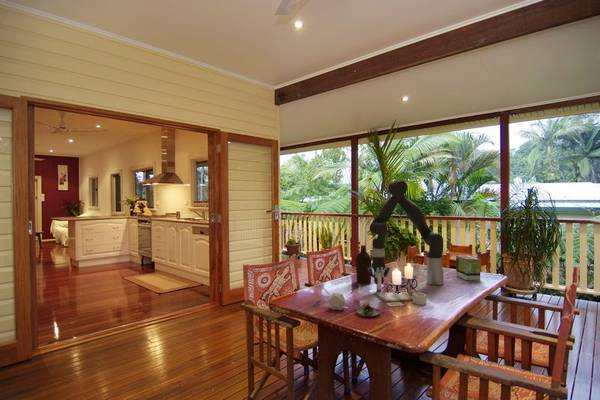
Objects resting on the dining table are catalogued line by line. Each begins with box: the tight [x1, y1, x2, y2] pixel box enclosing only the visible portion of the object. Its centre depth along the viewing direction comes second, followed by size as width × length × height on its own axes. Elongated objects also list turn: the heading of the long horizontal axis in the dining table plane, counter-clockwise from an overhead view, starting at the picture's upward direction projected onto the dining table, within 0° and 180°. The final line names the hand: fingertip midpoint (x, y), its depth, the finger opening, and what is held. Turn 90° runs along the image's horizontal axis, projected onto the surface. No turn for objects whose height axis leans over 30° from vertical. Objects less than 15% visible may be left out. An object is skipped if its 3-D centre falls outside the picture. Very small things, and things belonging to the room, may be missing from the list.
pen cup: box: [412, 292, 427, 306], centre depth 176 cm, size 6×6×4 cm
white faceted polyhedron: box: [328, 292, 347, 311], centre depth 169 cm, size 8×9×10 cm
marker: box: [375, 269, 383, 293], centre depth 198 cm, size 3×3×14 cm
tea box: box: [455, 254, 481, 281], centre depth 226 cm, size 15×10×15 cm, turn 179°
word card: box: [385, 302, 405, 307], centre depth 174 cm, size 5×8×1 cm, turn 99°
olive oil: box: [355, 244, 372, 285], centre depth 219 cm, size 11×11×25 cm
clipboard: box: [374, 291, 413, 304], centre depth 186 cm, size 20×16×1 cm
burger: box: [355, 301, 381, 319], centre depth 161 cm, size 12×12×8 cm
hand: (378, 283), depth 198 cm, fingers closed on marker, 3 cm apart
